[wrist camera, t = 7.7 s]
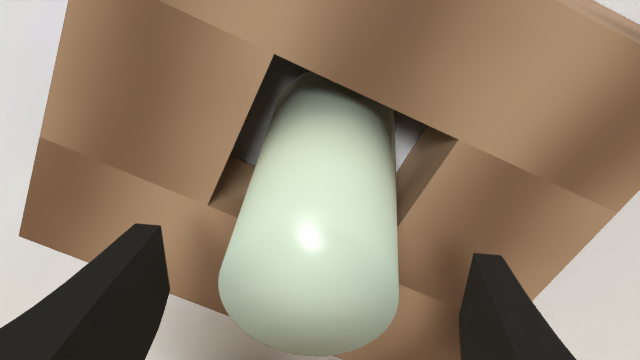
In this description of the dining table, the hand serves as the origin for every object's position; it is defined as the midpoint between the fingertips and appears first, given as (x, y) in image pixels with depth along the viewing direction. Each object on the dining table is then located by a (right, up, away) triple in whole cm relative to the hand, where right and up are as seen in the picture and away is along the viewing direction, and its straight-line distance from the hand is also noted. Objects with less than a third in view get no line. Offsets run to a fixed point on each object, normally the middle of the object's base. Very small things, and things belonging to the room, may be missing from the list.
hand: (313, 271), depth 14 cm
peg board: (+1, +4, +6) cm, 7 cm away
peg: (+1, +4, +6) cm, 7 cm away
